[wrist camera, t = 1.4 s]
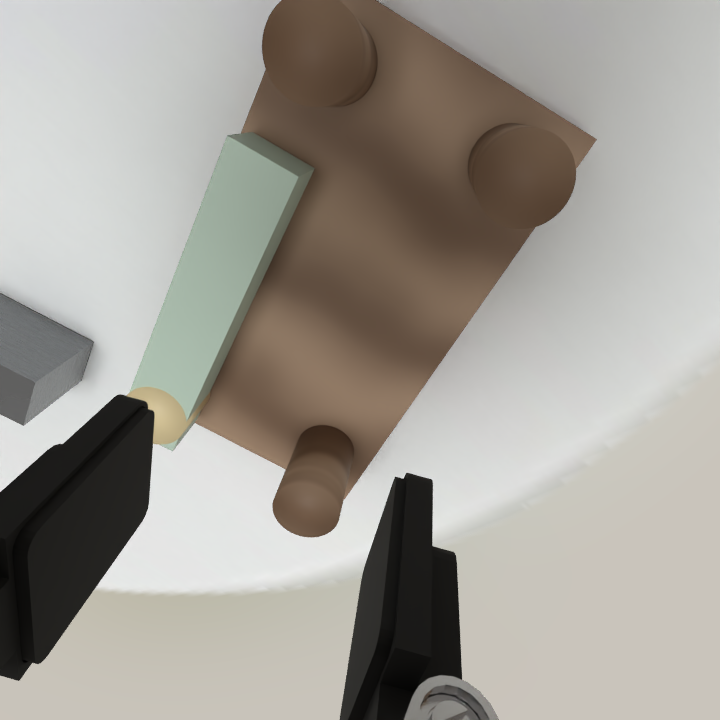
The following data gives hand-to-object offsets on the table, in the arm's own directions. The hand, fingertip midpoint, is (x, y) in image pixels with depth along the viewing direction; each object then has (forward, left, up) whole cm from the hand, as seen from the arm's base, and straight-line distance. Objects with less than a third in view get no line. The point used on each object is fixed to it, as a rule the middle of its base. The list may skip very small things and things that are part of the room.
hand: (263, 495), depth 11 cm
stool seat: (+1, -1, -17) cm, 17 cm away
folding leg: (+4, -6, -15) cm, 17 cm away
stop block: (+13, -14, -17) cm, 26 cm away
